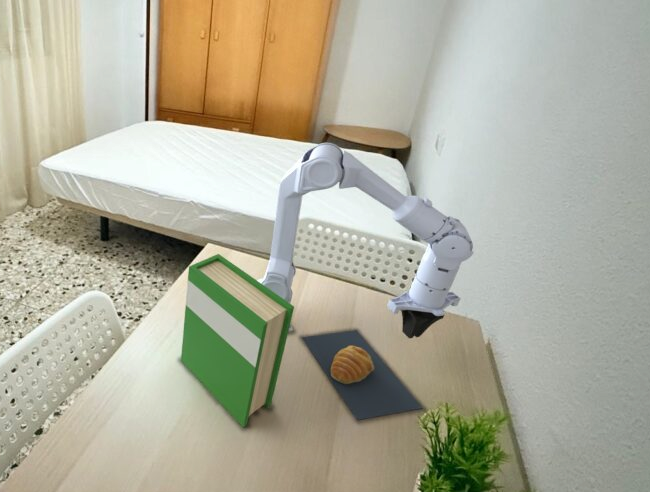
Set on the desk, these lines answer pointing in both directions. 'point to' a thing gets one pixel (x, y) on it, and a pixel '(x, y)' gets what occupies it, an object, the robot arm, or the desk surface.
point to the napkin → (371, 392)
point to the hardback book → (234, 335)
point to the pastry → (351, 365)
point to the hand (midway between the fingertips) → (410, 334)
